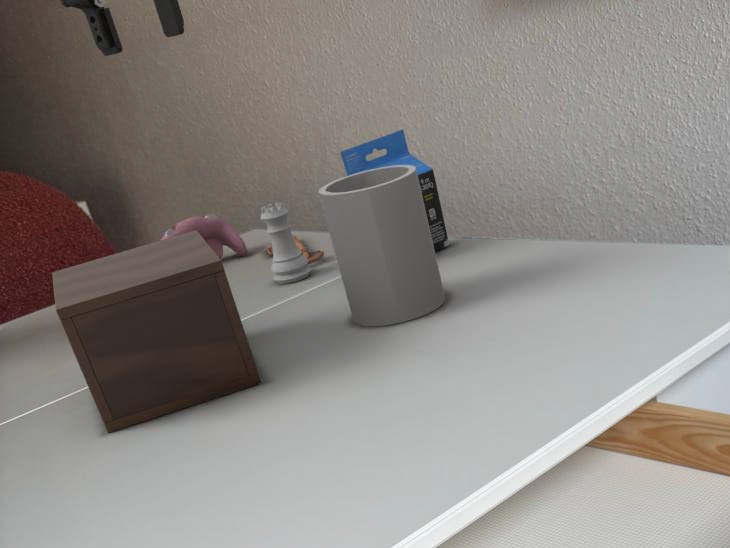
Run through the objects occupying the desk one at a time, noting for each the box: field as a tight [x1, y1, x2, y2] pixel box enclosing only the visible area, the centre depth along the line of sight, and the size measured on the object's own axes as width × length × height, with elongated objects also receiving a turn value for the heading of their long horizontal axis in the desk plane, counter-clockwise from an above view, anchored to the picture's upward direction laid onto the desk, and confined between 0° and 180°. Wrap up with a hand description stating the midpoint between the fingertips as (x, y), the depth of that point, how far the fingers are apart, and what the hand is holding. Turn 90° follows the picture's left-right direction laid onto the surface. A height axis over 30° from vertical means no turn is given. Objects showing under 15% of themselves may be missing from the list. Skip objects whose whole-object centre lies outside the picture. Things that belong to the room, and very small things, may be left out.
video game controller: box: [160, 213, 248, 260], centre depth 138 cm, size 10×5×7 cm, turn 130°
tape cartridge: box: [340, 129, 450, 252], centre depth 118 cm, size 9×4×12 cm, turn 132°
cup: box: [318, 165, 446, 327], centre depth 103 cm, size 9×9×12 cm
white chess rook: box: [259, 201, 312, 285], centre depth 123 cm, size 4×4×8 cm
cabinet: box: [51, 230, 263, 434], centre depth 98 cm, size 16×14×11 cm
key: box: [265, 234, 325, 266], centre depth 133 cm, size 6×1×15 cm
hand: (145, 44), depth 106 cm, fingers open, 8 cm apart
